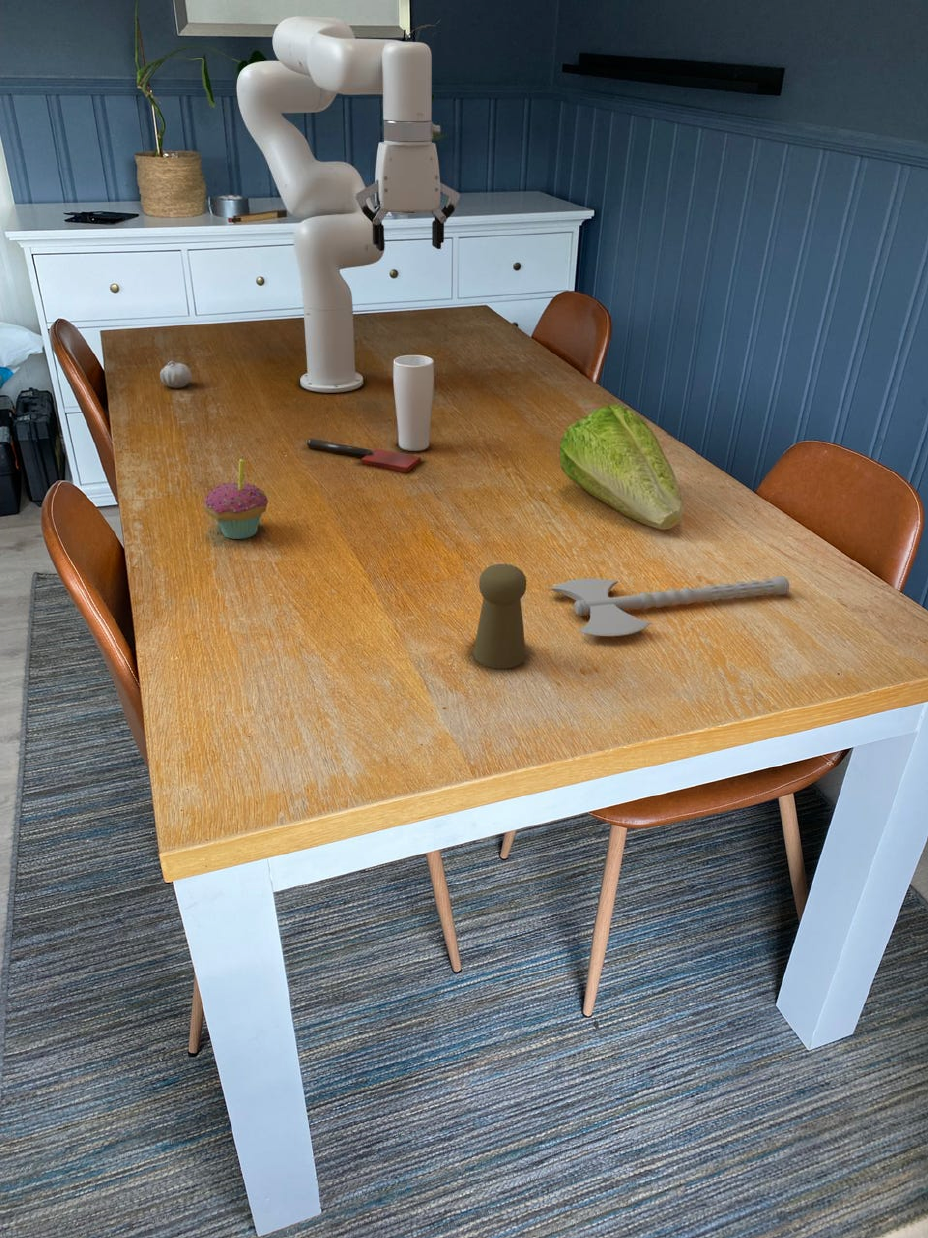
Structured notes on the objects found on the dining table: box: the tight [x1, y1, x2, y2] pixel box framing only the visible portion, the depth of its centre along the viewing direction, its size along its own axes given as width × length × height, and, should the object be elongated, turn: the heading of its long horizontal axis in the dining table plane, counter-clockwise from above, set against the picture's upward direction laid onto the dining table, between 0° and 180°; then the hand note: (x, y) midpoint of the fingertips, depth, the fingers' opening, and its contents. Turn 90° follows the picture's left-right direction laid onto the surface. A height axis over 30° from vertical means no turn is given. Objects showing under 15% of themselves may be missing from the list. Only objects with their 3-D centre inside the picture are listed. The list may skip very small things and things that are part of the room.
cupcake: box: [203, 454, 269, 540], centre depth 132 cm, size 9×8×12 cm
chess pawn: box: [472, 563, 527, 670], centre depth 107 cm, size 6×6×11 cm
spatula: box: [306, 438, 422, 474], centre depth 160 cm, size 20×5×2 cm, turn 66°
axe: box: [549, 575, 790, 637], centre depth 119 cm, size 30×14×2 cm, turn 104°
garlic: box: [159, 360, 192, 389], centre depth 188 cm, size 6×5×5 cm
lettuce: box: [559, 403, 684, 531], centre depth 142 cm, size 14×23×14 cm
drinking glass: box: [392, 354, 435, 452], centre depth 161 cm, size 7×7×15 cm
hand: (408, 248), depth 159 cm, fingers open, 9 cm apart
